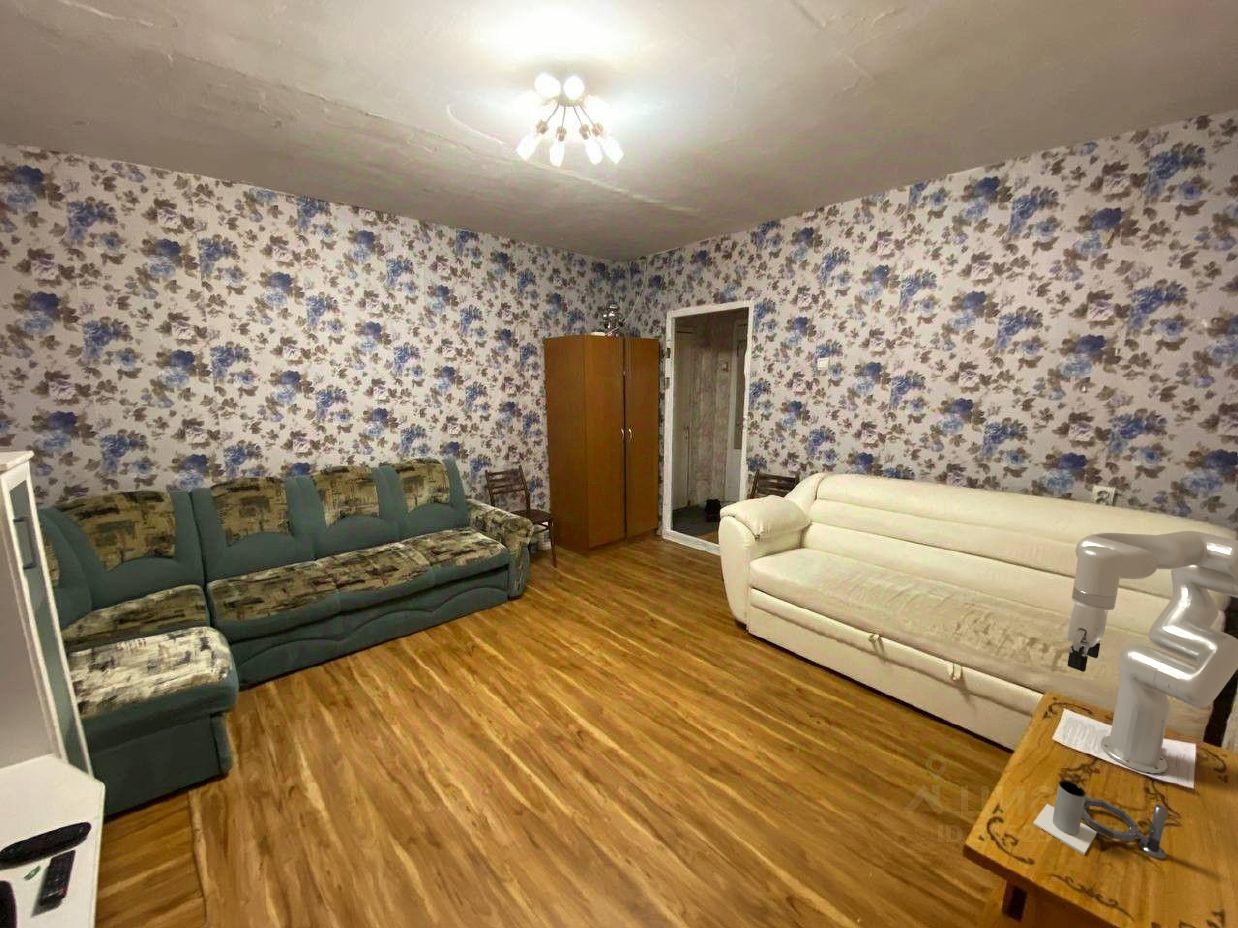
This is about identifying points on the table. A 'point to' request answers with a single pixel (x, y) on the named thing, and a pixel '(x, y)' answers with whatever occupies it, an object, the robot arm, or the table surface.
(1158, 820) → the ring stand
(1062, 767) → the table surface
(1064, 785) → the gray hollow cylinder
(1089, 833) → the coaster
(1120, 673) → the robot arm
